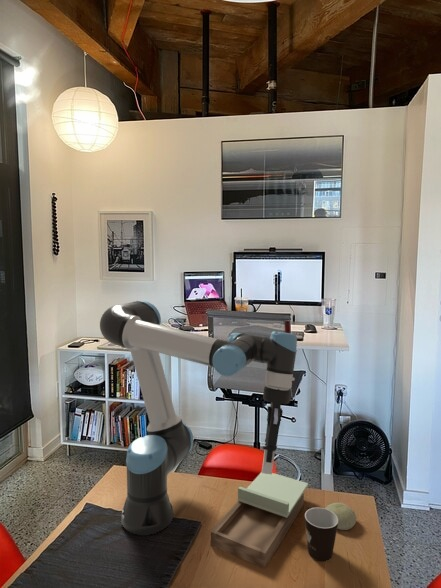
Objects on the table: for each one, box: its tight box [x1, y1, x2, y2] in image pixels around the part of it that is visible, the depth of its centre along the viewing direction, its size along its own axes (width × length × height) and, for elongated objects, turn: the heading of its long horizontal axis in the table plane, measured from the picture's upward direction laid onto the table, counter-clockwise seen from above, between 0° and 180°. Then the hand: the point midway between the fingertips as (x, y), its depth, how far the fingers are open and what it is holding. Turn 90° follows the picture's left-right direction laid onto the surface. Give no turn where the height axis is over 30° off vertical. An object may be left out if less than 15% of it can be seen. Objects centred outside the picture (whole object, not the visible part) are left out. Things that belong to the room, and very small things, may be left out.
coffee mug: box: [304, 506, 338, 562], centre depth 112 cm, size 12×9×10 cm
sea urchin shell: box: [325, 502, 357, 531], centre depth 123 cm, size 9×8×8 cm
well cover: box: [237, 471, 309, 518], centre depth 130 cm, size 16×19×4 cm
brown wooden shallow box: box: [210, 493, 305, 569], centre depth 122 cm, size 16×30×4 cm, turn 150°
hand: (266, 472), depth 115 cm, fingers closed
